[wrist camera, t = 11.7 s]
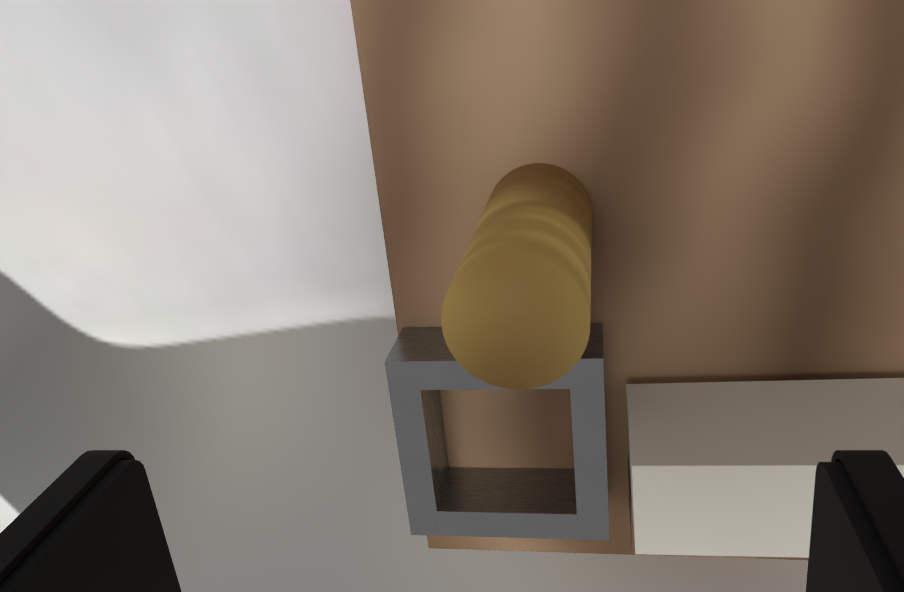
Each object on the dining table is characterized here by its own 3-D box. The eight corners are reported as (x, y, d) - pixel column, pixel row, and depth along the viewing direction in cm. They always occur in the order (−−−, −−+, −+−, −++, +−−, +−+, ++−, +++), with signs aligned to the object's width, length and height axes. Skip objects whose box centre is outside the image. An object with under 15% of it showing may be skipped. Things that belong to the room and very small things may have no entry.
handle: (1099, 364, 22) (1220, 461, 18) (1077, 469, 24) (1184, 583, 19) (625, 375, 25) (631, 463, 21) (629, 469, 26) (636, 570, 22)
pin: (589, 159, 23) (587, 251, 16) (593, 261, 24) (593, 389, 17) (482, 166, 24) (433, 257, 16) (492, 265, 25) (449, 390, 18)
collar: (602, 322, 25) (603, 358, 23) (608, 492, 28) (609, 540, 25) (402, 327, 26) (384, 361, 24) (425, 489, 29) (411, 534, 27)
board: (1488, -140, 18) (1707, -164, 15) (1250, 543, 26) (1356, 637, 22) (362, -14, 24) (320, -9, 20) (435, 522, 31) (415, 596, 28)
